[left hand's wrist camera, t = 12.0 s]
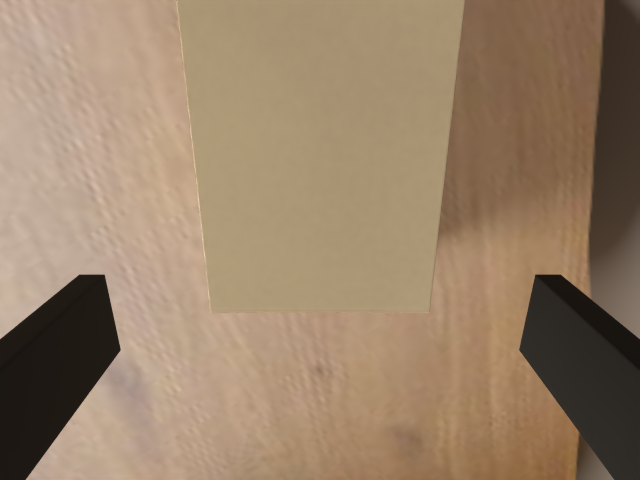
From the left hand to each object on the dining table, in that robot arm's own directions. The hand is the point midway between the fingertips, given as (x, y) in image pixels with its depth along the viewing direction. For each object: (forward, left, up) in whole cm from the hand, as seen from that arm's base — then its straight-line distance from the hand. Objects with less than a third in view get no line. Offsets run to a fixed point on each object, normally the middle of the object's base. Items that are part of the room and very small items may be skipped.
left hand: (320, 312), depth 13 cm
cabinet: (+5, 0, -15) cm, 16 cm away
